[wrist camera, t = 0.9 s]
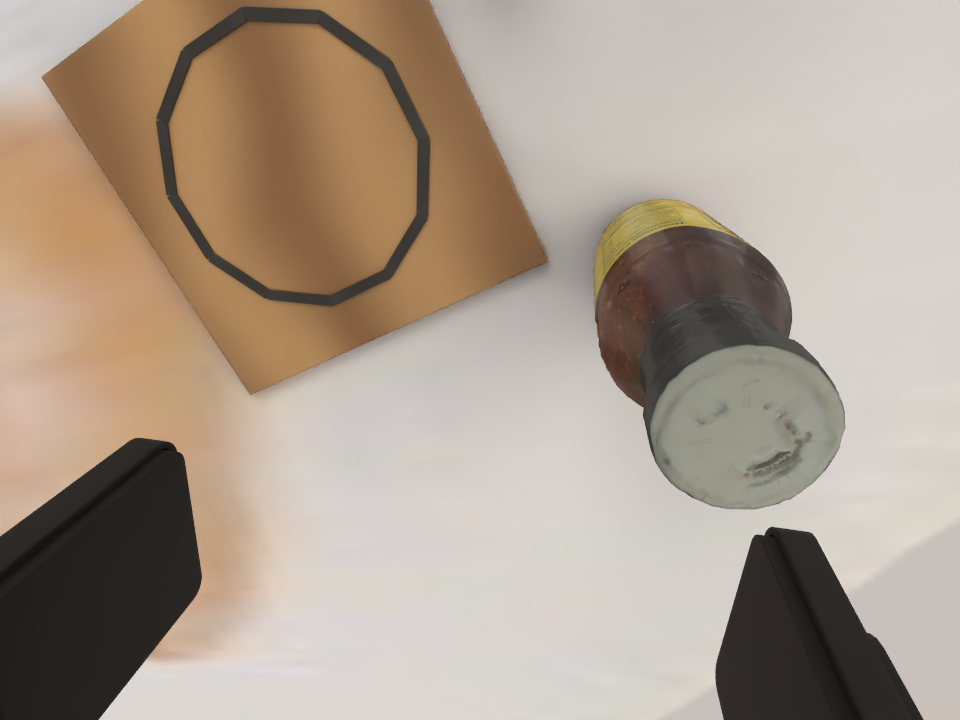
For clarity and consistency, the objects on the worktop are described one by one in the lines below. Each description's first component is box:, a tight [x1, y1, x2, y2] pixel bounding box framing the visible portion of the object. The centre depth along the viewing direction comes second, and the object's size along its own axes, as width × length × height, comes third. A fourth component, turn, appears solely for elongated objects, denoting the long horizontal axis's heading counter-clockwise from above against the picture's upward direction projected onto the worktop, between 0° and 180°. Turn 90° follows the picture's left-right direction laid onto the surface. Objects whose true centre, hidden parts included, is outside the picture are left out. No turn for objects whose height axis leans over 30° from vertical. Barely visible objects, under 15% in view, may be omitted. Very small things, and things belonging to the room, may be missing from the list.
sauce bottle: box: [594, 200, 845, 509], centre depth 22 cm, size 7×6×20 cm
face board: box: [42, 0, 548, 395], centre depth 32 cm, size 20×20×1 cm
